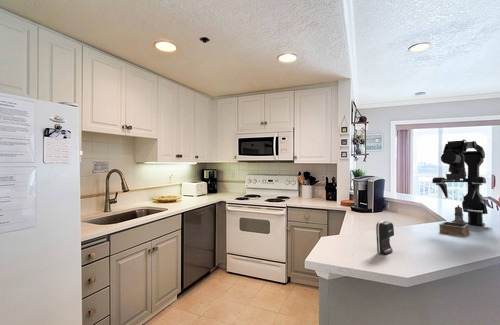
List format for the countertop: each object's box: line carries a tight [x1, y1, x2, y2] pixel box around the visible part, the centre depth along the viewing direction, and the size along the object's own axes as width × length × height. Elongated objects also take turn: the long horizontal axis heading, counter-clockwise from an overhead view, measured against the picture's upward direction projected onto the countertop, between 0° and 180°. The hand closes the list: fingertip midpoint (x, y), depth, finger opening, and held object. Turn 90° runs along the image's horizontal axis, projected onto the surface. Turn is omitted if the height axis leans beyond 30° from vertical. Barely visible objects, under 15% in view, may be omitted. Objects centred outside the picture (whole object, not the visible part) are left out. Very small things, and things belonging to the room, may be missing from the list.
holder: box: [439, 221, 470, 237], centre depth 115 cm, size 9×9×4 cm
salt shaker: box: [450, 204, 468, 224], centre depth 120 cm, size 6×6×12 cm
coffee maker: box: [375, 220, 395, 255], centre depth 91 cm, size 7×4×11 cm, turn 126°
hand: (458, 198), depth 114 cm, fingers open, 9 cm apart
